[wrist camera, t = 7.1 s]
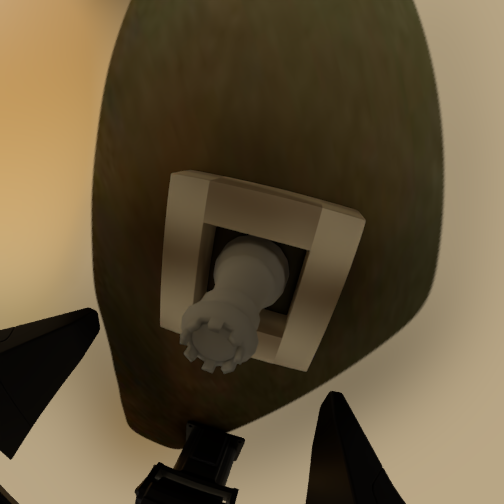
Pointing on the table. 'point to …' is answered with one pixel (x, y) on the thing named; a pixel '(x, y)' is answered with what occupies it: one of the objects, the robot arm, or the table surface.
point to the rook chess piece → (234, 303)
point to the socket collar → (265, 226)
